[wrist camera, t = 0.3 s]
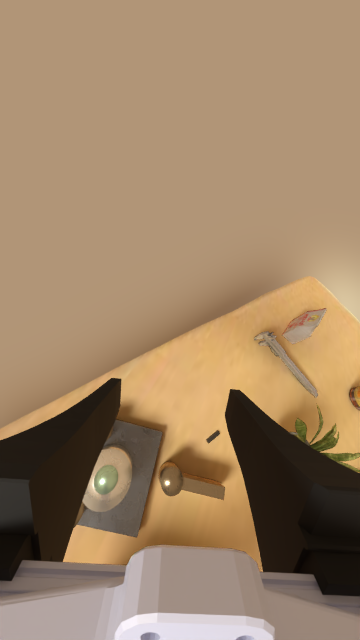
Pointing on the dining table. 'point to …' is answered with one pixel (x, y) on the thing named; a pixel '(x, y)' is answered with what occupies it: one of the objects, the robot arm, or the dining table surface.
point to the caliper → (285, 359)
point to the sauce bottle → (355, 397)
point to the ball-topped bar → (187, 482)
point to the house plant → (324, 442)
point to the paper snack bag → (303, 325)
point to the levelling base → (138, 484)
